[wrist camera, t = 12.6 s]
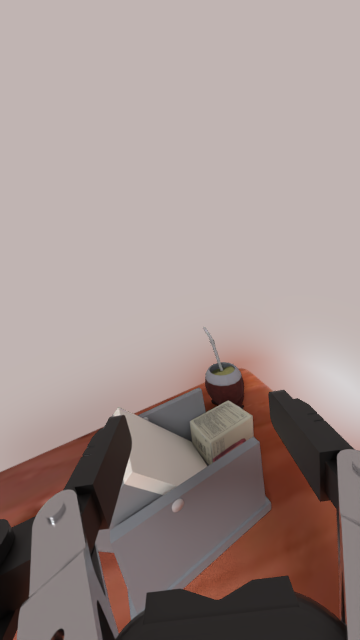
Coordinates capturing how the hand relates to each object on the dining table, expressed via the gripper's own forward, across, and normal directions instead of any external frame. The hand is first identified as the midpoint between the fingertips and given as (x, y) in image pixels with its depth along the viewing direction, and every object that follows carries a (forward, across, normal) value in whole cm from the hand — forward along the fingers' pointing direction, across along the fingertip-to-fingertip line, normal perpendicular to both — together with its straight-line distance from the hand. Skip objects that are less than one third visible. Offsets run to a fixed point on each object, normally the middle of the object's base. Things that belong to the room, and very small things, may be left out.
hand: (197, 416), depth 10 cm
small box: (+12, +1, +15) cm, 19 cm away
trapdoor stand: (+8, +4, +18) cm, 20 cm away
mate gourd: (+23, -5, +18) cm, 30 cm away
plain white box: (+6, +8, +15) cm, 18 cm away
